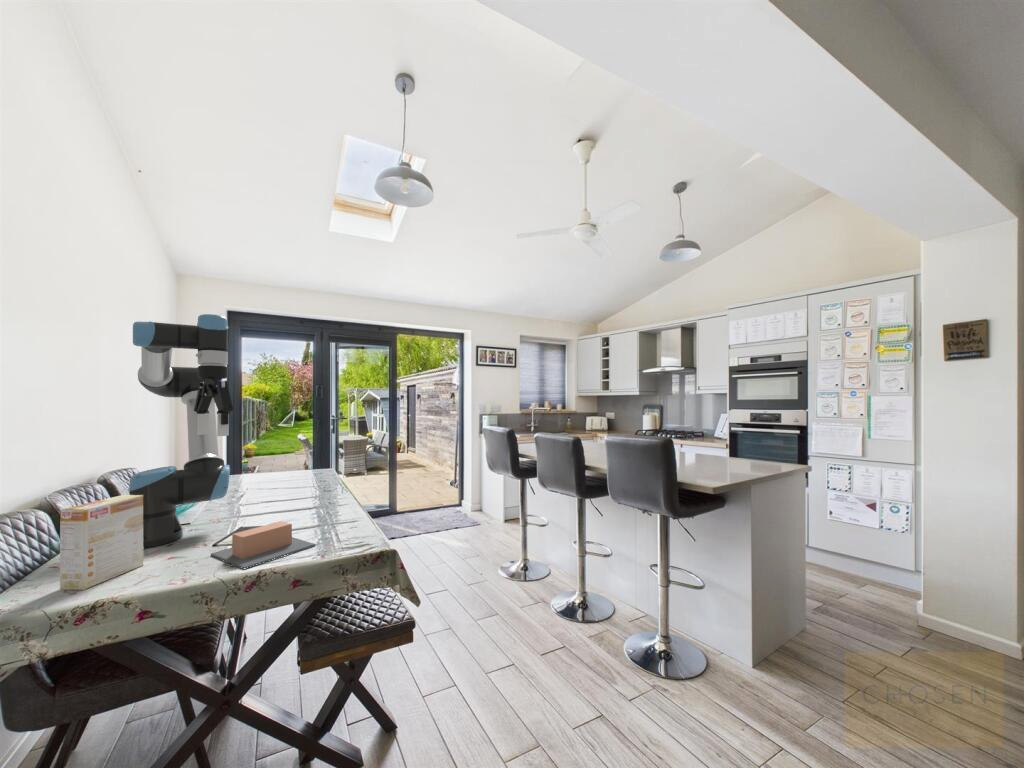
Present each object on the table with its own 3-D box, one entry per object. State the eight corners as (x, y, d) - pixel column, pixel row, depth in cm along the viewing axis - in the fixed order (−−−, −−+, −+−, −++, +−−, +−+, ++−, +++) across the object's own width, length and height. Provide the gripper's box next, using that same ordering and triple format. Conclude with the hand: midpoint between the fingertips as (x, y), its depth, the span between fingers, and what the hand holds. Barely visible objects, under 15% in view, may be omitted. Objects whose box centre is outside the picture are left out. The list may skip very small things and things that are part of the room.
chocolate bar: (268, 525, 148) (243, 542, 130) (268, 528, 148) (243, 545, 130) (240, 527, 146) (212, 544, 129) (240, 529, 146) (212, 547, 129)
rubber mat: (210, 555, 121) (210, 553, 121) (280, 535, 138) (280, 533, 138) (244, 569, 110) (244, 567, 110) (315, 545, 127) (315, 543, 127)
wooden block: (232, 533, 119) (281, 521, 131) (232, 555, 119) (281, 540, 131) (242, 537, 116) (291, 523, 128) (242, 558, 116) (291, 543, 128)
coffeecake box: (121, 565, 115) (122, 494, 116) (144, 565, 115) (145, 494, 115) (57, 589, 100) (58, 508, 101) (83, 590, 100) (84, 508, 100)
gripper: (181, 367, 130) (181, 435, 129) (217, 362, 117) (217, 437, 116) (209, 368, 136) (208, 433, 136) (246, 363, 123) (246, 435, 122)
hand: (212, 435), depth 126 cm, fingers open, 13 cm apart
